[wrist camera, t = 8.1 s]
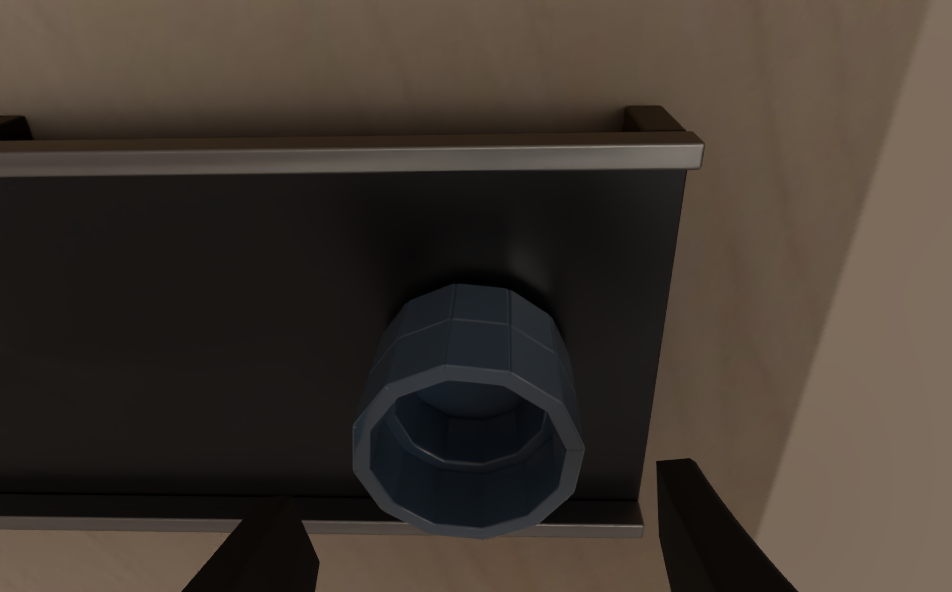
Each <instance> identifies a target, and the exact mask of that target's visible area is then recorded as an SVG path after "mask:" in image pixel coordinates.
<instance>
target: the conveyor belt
mask: <svg viewBox="0 0 952 592" xmlns="http://www.w3.org/2000/svg"><path fill="white" fill-rule="evenodd" d="M704 149H705V143H704V142H703V141H702V140H701V139H700V138H699V137H698V136H697V135H696V134H695V133H694V132H692V131H686V130H685V129H684V128H683V127H682V126H681V125H680V124H679V123H678V122H677V121H676V120H675V119H674V118H673V117H672V116H671V115H670V114H669V113H668V112H667V111H666V110H665V109H664V108H663V107H662V106H628V107H626V109H625V114H624V125H623V132H603V133H531V134H459V135H388V136H316V137H245V138H173V139H101V140H33V138H32V135H31V133H30V130H29V127H28V125H27V122H26V119H25V117H24V116H0V529H15V530H86V531H156V532H226V533H232V532H233V531H234V529H235V528H236V527H237V526H238V525H239V523H240V522H241V521H242V520H243V519H244V517H245V516H246V515H247V514H248V513H249V511H250V510H251V509H252V508H253V507H254V506H255V505H256V503H257V502H258V501H259V500H260V499H261V498H262V497H271V496H282V495H291V497H292V500H293V502H294V504H295V507H296V509H297V511H298V513H299V516H300V518H301V520H302V523H303V525H304V527H305V530H306V532H307V534H367V535H431V534H430V533H429V534H428V533H426V532H424V531H422V530H420V529H418V528H416V527H414V526H412V525H410V524H408V523H406V522H404V521H402V520H400V519H398V518H396V517H394V516H392V515H390V514H388V513H386V512H384V511H383V510H382V509H380V507H379V506H378V505H377V503H376V502H375V501H374V499H373V498H372V497H371V495H370V494H369V492H368V491H367V490H366V488H365V487H364V486H363V484H362V483H361V482H360V480H359V479H358V478H357V476H356V475H355V474H354V471H353V443H352V426H353V423H354V420H355V417H356V413H357V410H358V407H359V404H360V401H361V397H362V394H363V391H364V388H365V384H366V381H367V379H368V376H369V373H370V370H371V366H372V363H373V360H374V357H375V354H376V350H377V347H378V344H379V341H380V338H381V335H382V334H383V333H384V331H385V330H386V329H387V327H388V326H389V325H390V323H391V322H392V321H393V320H394V318H395V317H396V316H397V314H398V313H399V312H400V310H401V309H402V308H403V307H404V305H405V304H406V303H408V301H410V300H412V299H415V298H417V297H420V296H422V295H425V294H427V293H430V292H433V291H435V290H438V289H440V288H443V287H446V286H448V285H451V284H453V283H455V284H458V283H460V284H470V285H480V286H489V287H499V288H506V289H508V290H512V291H514V292H515V293H517V294H518V295H520V296H521V297H523V298H524V299H526V300H527V301H529V302H530V303H532V304H533V305H535V306H536V307H538V308H539V309H541V310H543V311H544V312H546V313H547V314H549V315H550V317H552V318H553V320H554V322H555V324H556V327H557V329H558V331H559V333H560V335H561V337H562V340H563V342H564V344H565V346H566V348H567V351H568V353H569V355H570V361H571V368H572V374H573V380H574V386H575V392H576V397H577V403H578V409H579V415H580V421H581V427H582V433H583V439H584V445H585V451H584V455H583V460H582V464H581V468H580V472H579V476H578V480H577V484H576V488H575V491H574V492H573V494H572V495H571V496H570V497H569V498H568V499H567V500H565V501H564V502H563V503H562V504H561V505H560V506H559V507H557V508H556V509H555V510H554V511H553V512H552V513H551V514H549V515H548V516H547V517H546V518H545V519H544V520H543V521H541V522H540V523H539V524H537V525H536V526H532V527H529V528H525V529H522V530H518V531H514V532H511V533H507V534H504V535H500V536H507V537H577V538H642V537H643V531H644V522H643V518H642V514H641V510H640V506H639V503H638V499H639V492H640V485H641V478H642V472H643V465H644V458H645V451H646V445H647V438H648V431H649V424H650V418H651V411H652V404H653V397H654V391H655V384H656V377H657V370H658V364H659V357H660V350H661V343H662V337H663V330H664V323H665V316H666V310H667V303H668V296H669V289H670V283H671V276H672V269H673V262H674V256H675V249H676V242H677V235H678V229H679V222H680V215H681V208H682V202H683V195H684V188H685V181H686V174H687V170H698V169H701V167H702V161H703V155H704ZM437 536H442V535H437Z"/></svg>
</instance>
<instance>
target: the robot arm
mask: <svg viewBox="0 0 952 592" xmlns="http://www.w3.org/2000/svg"><path fill="white" fill-rule="evenodd" d="M656 465H657V493H658V522H659V538H660V543H661V547H662V552H663V557H664V561H665V566H666V570H667V575H668V579H669V584H670V588H671V592H798V591H797V590H796V589H795V588H794V587H793V585H792V584H791V583H790V582H789V581H788V580H787V579H786V578H785V577H784V576H783V575H782V574H781V572H780V571H779V570H778V569H777V568H776V567H775V565H774V564H773V563H772V562H771V561H770V560H769V559H768V557H767V556H766V555H765V554H764V553H763V551H762V550H761V549H760V548H759V547H758V545H757V544H756V543H755V542H754V541H753V539H752V538H751V537H750V536H749V535H748V533H747V532H746V531H745V530H744V529H743V527H742V526H741V525H740V523H739V522H738V521H737V520H736V518H735V517H734V516H733V515H732V513H731V512H730V511H729V509H728V508H727V507H726V505H725V504H724V503H723V501H722V500H721V499H720V497H719V496H718V494H717V493H716V492H715V490H714V489H713V488H712V486H711V485H710V483H709V482H708V480H707V479H706V477H705V476H704V474H703V473H702V471H701V470H700V468H699V467H698V465H697V463H696V462H695V461H693V460H692V459H690V458H686V459H675V460H664V461H656ZM319 563H320V562H319V559H318V557H317V555H316V552H315V550H314V548H313V546H312V543H311V541H310V539H309V536H308V534H307V532H306V530H305V527H304V525H303V523H302V520H301V518H300V516H299V513H298V511H297V509H296V507H295V504H294V502H293V500H292V497H291V495H282V496H271V497H262V498H261V499H260V500H259V501H258V502H257V503H256V505H255V506H254V507H253V508H252V509H251V510H250V511H249V513H248V514H247V515H246V516H245V517H244V519H243V520H242V521H241V522H240V523H239V525H238V526H237V527H236V528H235V529H234V531H233V532H232V533H231V534H230V535H229V537H228V538H227V539H226V540H225V541H224V543H223V544H222V545H221V546H220V547H219V548H218V550H217V551H216V552H215V553H214V554H213V556H212V557H211V558H210V559H209V560H208V561H207V563H206V564H205V565H204V566H203V567H202V568H201V570H200V571H199V572H198V573H197V574H196V575H195V576H194V578H193V579H192V580H191V581H190V582H189V583H188V585H187V586H186V587H185V588H184V589H183V590H182V592H315V588H316V582H317V576H318V569H319Z"/></svg>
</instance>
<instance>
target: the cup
mask: <svg viewBox="0 0 952 592" xmlns="http://www.w3.org/2000/svg"><path fill="white" fill-rule="evenodd" d="M352 443H353V471H354V474H355V475H356V476H357V478H358V479H359V480H360V482H361V483H362V484H363V486H364V487H365V488H366V490H367V491H368V492H369V494H370V495H371V497H372V498H373V499H374V501H375V502H376V503H377V505H378V506H379V507H380V509H382V510H383V511H384V512H386V513H388V514H390V515H392V516H394V517H396V518H398V519H400V520H402V521H404V522H406V523H408V524H410V525H412V526H414V527H416V528H418V529H420V530H422V531H424V532H426V533H428V534H429V533H430V534H431V535H442V536H452V537H463V538H473V539H489V538H493V537H496V536H500V535H504V534H507V533H511V532H514V531H518V530H522V529H525V528H529V527H532V526H536V525H537V524H539V523H540V522H541V521H543V520H544V519H545V518H546V517H547V516H548V515H549V514H551V513H552V512H553V511H554V510H555V509H556V508H557V507H559V506H560V505H561V504H562V503H563V502H564V501H565V500H567V499H568V498H569V497H570V496H571V495H572V494H573V492H574V491H575V488H576V484H577V480H578V476H579V472H580V468H581V464H582V460H583V455H584V451H585V445H584V439H583V433H582V427H581V421H580V415H579V409H578V403H577V397H576V392H575V386H574V380H573V374H572V368H571V361H570V355H569V353H568V351H567V348H566V346H565V344H564V342H563V340H562V337H561V335H560V333H559V331H558V329H557V327H556V324H555V322H554V320H553V318H552V317H550V315H549V314H547V313H546V312H544V311H543V310H541V309H539V308H538V307H536V306H535V305H533V304H532V303H530V302H529V301H527V300H526V299H524V298H523V297H521V296H520V295H518V294H517V293H515V292H514V291H512V290H508V289H506V288H499V287H489V286H480V285H470V284H460V283H458V284H455V283H453V284H451V285H448V286H446V287H443V288H440V289H438V290H435V291H433V292H430V293H427V294H425V295H422V296H420V297H417V298H415V299H412V300H410V301H408V303H406V304H405V305H404V307H403V308H402V309H401V310H400V312H399V313H398V314H397V316H396V317H395V318H394V320H393V321H392V322H391V323H390V325H389V326H388V327H387V329H386V330H385V331H384V333H383V334H382V335H381V338H380V341H379V344H378V347H377V350H376V354H375V357H374V360H373V363H372V366H371V370H370V373H369V376H368V379H367V381H366V384H365V388H364V391H363V394H362V397H361V401H360V404H359V407H358V410H357V413H356V417H355V420H354V423H353V426H352Z"/></svg>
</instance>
